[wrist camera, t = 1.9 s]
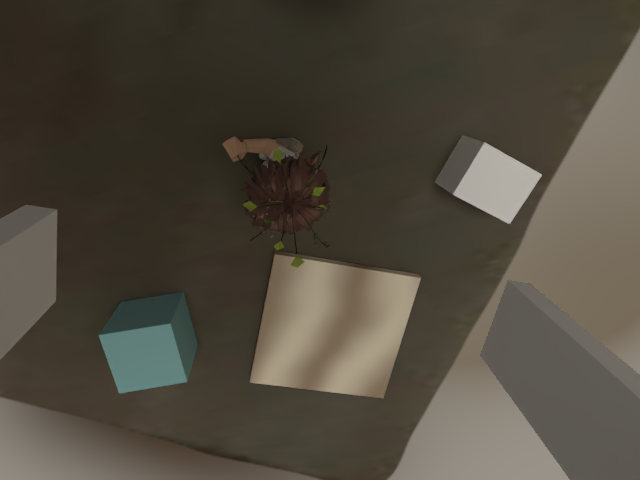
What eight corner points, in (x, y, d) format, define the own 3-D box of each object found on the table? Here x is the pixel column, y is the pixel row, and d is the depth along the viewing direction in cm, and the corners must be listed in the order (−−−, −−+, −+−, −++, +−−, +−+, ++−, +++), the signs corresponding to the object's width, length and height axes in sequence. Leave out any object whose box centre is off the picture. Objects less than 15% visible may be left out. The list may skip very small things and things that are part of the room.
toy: (234, 121, 32) (203, 159, 19) (311, 113, 33) (338, 145, 19) (247, 205, 35) (229, 296, 21) (319, 197, 35) (348, 281, 21)
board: (250, 376, 40) (249, 382, 39) (274, 250, 36) (274, 254, 35) (381, 392, 42) (383, 398, 41) (418, 274, 38) (420, 278, 37)
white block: (434, 181, 35) (452, 194, 32) (461, 134, 34) (484, 142, 31) (485, 208, 37) (509, 224, 33) (514, 163, 36) (542, 174, 32)
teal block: (138, 354, 38) (119, 393, 34) (121, 301, 36) (98, 335, 32) (197, 344, 38) (187, 381, 34) (183, 291, 37) (170, 323, 32)
